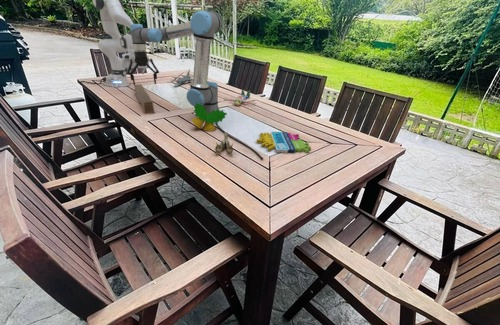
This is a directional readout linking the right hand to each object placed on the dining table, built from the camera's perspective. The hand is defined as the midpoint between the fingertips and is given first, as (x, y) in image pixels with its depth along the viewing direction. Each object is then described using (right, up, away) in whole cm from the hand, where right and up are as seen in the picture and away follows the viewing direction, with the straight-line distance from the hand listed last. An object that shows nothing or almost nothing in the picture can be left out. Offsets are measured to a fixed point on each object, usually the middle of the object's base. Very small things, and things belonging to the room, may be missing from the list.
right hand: (145, 84), depth 179 cm
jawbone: (+59, -48, -40) cm, 86 cm away
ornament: (+47, -32, -14) cm, 58 cm away
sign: (+91, -42, -27) cm, 104 cm away
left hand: (-18, +17, +30) cm, 39 cm away
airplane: (+5, +27, +87) cm, 91 cm away
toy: (+65, -2, +42) cm, 77 cm away
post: (-11, -7, +24) cm, 27 cm away
